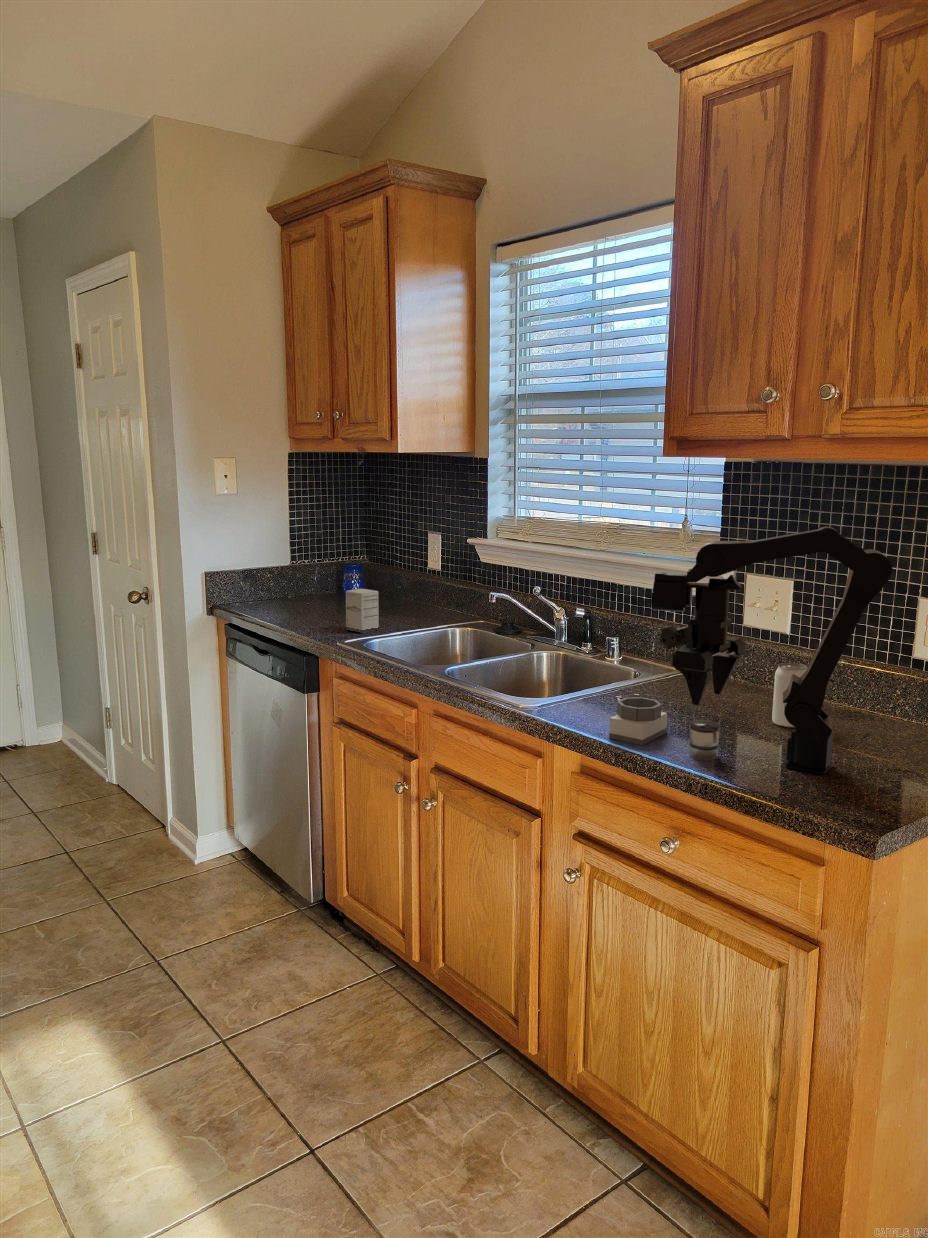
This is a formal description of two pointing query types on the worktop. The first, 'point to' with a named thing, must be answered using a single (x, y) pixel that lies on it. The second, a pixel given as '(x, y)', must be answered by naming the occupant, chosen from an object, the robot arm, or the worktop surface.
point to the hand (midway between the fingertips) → (706, 699)
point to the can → (780, 685)
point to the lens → (704, 739)
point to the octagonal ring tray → (638, 720)
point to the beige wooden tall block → (362, 609)
